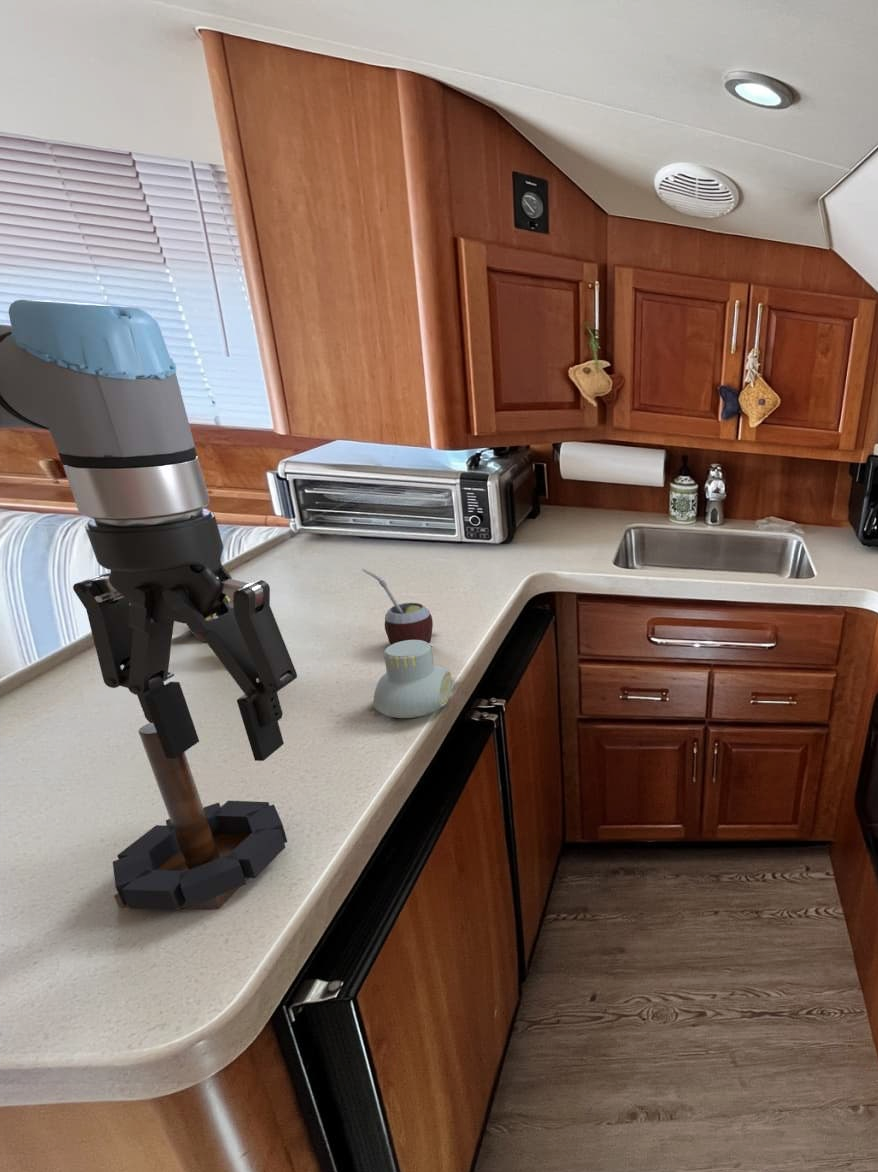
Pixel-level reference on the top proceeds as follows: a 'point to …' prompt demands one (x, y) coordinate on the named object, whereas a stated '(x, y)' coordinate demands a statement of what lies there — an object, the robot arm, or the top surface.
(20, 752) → the top surface
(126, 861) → the ring
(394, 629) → the mate gourd
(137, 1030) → the top surface
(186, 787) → the stand
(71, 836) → the top surface
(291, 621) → the top surface
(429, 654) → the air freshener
